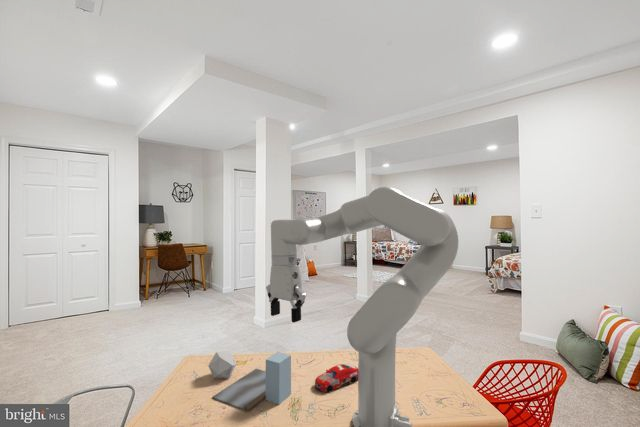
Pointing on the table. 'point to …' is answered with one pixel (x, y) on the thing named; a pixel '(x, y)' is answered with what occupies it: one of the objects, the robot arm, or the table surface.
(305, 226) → the robot arm
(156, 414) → the table surface
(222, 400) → the mat
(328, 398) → the table surface
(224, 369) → the die
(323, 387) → the race car
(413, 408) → the table surface
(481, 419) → the table surface
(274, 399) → the tall block
